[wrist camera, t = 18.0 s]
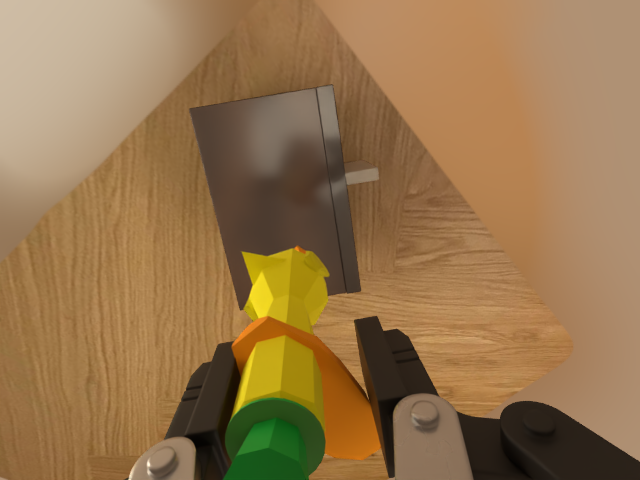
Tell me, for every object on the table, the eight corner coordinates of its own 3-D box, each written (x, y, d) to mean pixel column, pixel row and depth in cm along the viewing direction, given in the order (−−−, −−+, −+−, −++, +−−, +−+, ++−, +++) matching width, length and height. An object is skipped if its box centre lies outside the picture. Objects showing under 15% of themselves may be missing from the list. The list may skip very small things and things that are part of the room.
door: (355, 107, 34) (372, 101, 26) (364, 186, 36) (382, 203, 28) (317, 113, 34) (323, 109, 26) (329, 192, 36) (337, 210, 28)
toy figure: (370, 294, 19) (472, 560, 7) (318, 334, 19) (337, 636, 8) (283, 197, 17) (239, 348, 6) (228, 244, 18) (90, 466, 6)
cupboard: (324, 95, 35) (333, 84, 25) (346, 250, 40) (361, 291, 30) (219, 113, 35) (187, 108, 25) (254, 266, 40) (239, 311, 30)
